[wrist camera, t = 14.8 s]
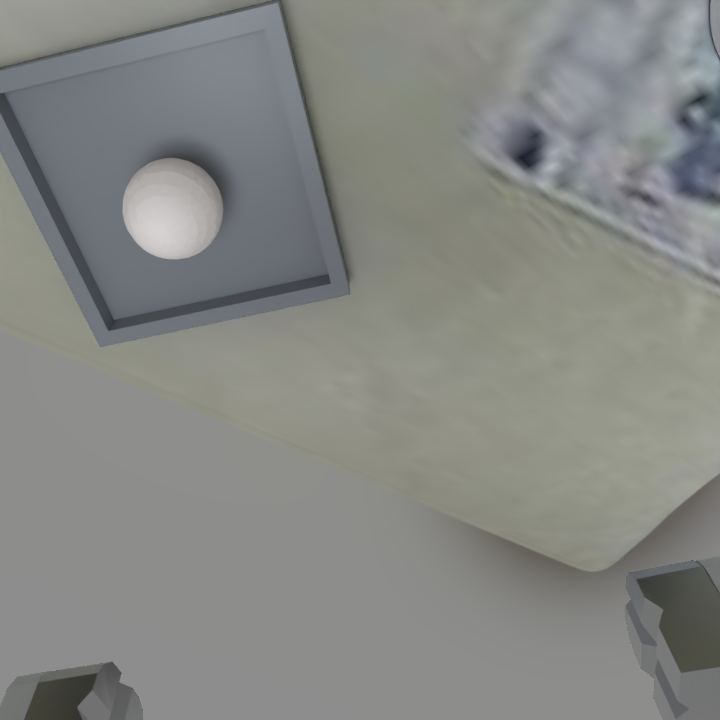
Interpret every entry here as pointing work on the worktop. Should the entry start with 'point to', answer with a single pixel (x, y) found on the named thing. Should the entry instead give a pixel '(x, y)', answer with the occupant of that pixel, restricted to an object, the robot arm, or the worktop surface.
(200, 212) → the egg
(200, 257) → the tray
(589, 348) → the worktop surface
